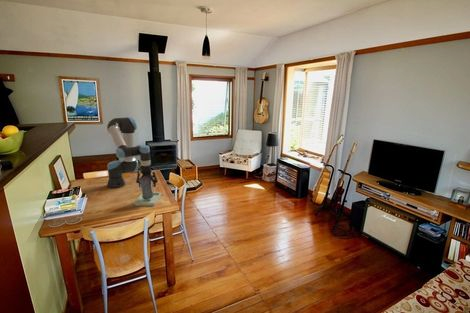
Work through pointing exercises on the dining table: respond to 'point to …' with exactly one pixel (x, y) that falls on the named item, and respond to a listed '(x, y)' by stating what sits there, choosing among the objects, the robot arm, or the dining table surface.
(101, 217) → the dining table surface
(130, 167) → the robot arm
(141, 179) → the moka pot
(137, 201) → the tray
